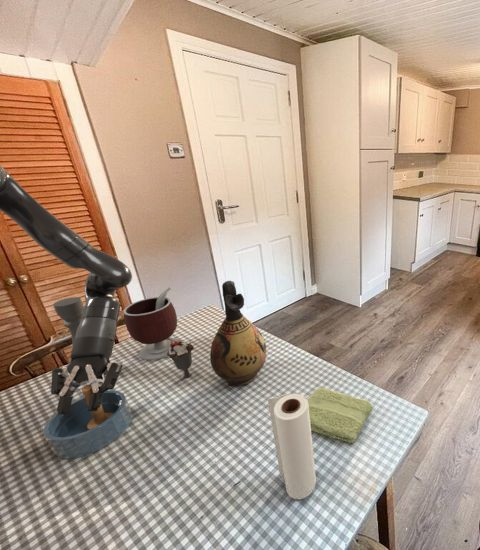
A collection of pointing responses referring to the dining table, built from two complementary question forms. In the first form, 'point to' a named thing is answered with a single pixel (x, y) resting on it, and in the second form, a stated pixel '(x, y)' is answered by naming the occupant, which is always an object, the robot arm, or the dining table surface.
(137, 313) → the mate gourd
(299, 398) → the paper towel roll
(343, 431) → the washcloth
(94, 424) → the wooden stamp
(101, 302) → the robot arm
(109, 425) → the bowl
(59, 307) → the candle holder
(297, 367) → the dining table surface
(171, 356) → the sundae
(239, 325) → the ceramic jug
